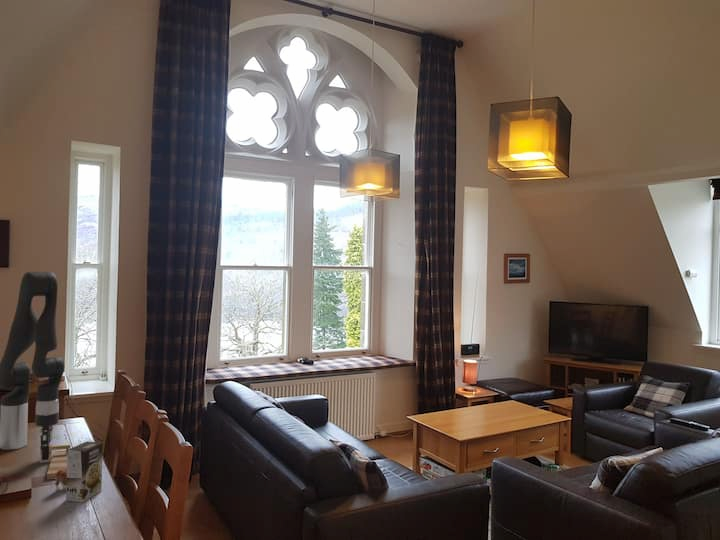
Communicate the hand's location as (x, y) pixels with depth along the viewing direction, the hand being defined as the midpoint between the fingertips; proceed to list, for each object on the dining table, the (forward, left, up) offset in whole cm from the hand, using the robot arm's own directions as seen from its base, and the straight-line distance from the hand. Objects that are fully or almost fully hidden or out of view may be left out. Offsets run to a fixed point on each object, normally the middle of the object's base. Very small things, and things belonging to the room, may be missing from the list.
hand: (45, 457), depth 204 cm
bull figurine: (+28, +11, -2) cm, 30 cm away
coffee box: (+38, +15, -2) cm, 41 cm away
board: (+8, +5, -1) cm, 9 cm away
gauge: (0, +3, -1) cm, 3 cm away
